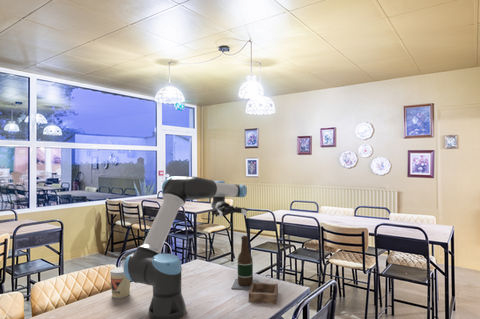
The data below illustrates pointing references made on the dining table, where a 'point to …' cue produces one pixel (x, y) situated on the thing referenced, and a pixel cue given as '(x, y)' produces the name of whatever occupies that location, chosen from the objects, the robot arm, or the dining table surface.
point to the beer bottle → (245, 264)
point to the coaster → (237, 286)
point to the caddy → (263, 293)
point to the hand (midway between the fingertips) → (234, 213)
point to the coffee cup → (119, 283)
